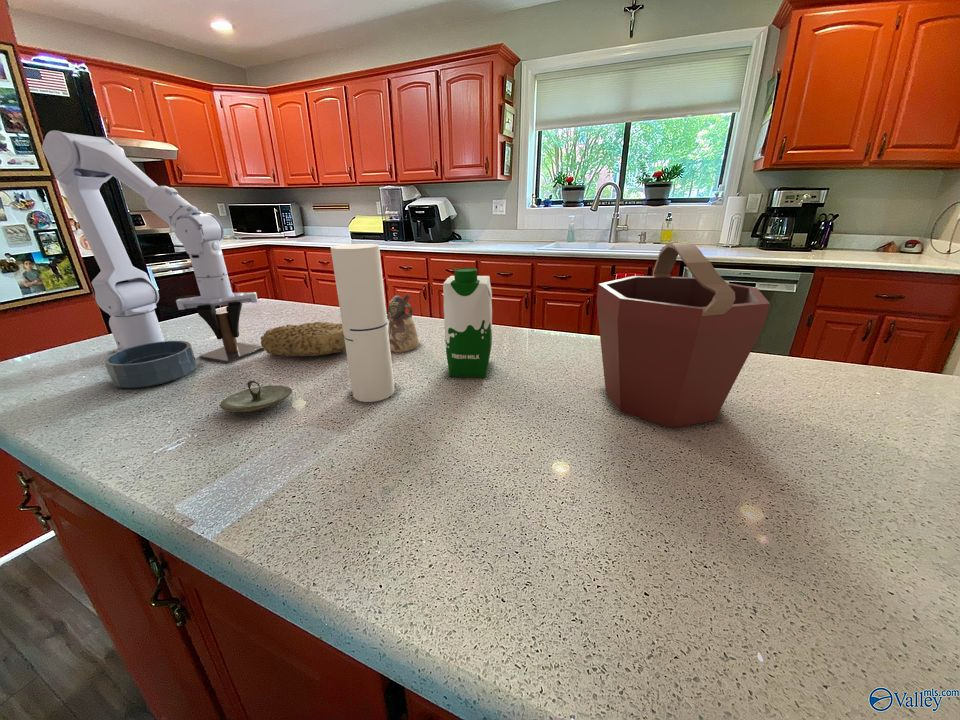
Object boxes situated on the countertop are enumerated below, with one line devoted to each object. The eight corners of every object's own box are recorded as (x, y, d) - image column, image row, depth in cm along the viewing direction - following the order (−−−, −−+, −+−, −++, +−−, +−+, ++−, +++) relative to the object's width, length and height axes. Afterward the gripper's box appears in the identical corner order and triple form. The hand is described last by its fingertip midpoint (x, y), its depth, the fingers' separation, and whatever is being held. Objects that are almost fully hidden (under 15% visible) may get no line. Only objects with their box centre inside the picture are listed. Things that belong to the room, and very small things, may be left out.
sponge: (260, 366, 85) (338, 355, 79) (251, 330, 84) (329, 316, 78) (303, 355, 97) (373, 345, 91) (296, 323, 96) (366, 311, 90)
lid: (239, 436, 60) (236, 410, 58) (208, 404, 64) (205, 378, 62) (303, 410, 68) (304, 387, 66) (272, 383, 72) (272, 360, 70)
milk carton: (444, 378, 75) (438, 271, 67) (451, 360, 83) (447, 263, 76) (490, 379, 74) (489, 271, 66) (493, 361, 82) (493, 263, 75)
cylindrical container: (384, 403, 66) (366, 249, 56) (345, 399, 67) (320, 248, 58) (400, 385, 72) (386, 243, 63) (364, 382, 74) (345, 243, 64)
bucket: (743, 457, 51) (800, 259, 41) (572, 421, 60) (586, 251, 50) (724, 382, 71) (759, 238, 62) (599, 364, 80) (613, 235, 71)
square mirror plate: (199, 357, 87) (199, 355, 87) (236, 344, 94) (236, 342, 94) (228, 363, 84) (227, 361, 83) (264, 349, 91) (263, 347, 91)
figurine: (384, 344, 93) (378, 293, 89) (413, 339, 96) (409, 290, 91) (391, 354, 87) (385, 300, 83) (422, 348, 90) (418, 296, 85)
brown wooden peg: (223, 352, 88) (212, 313, 85) (233, 348, 90) (223, 310, 87) (231, 354, 87) (220, 314, 84) (241, 350, 89) (231, 311, 86)
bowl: (97, 384, 75) (87, 359, 73) (170, 359, 86) (163, 337, 84) (141, 395, 70) (131, 369, 68) (212, 367, 81) (205, 344, 80)
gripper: (164, 281, 76) (185, 347, 82) (248, 275, 82) (263, 337, 87) (174, 276, 82) (193, 337, 88) (252, 270, 88) (266, 329, 93)
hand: (228, 337), depth 88 cm, fingers closed on brown wooden peg, 3 cm apart
